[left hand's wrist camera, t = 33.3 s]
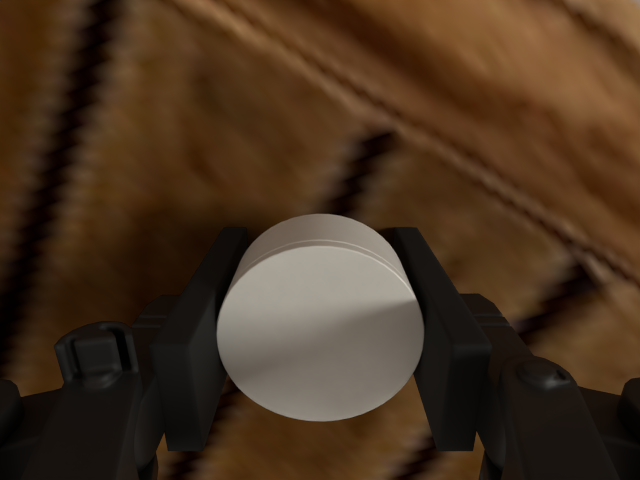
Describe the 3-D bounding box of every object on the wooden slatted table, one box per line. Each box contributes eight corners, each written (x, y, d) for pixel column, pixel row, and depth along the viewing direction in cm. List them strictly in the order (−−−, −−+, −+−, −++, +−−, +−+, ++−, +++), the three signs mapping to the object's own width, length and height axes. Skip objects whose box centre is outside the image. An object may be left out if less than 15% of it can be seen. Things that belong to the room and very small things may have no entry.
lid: (353, 386, 13) (359, 446, 11) (208, 325, 13) (185, 378, 10) (439, 261, 12) (466, 303, 10) (279, 181, 11) (269, 207, 9)
